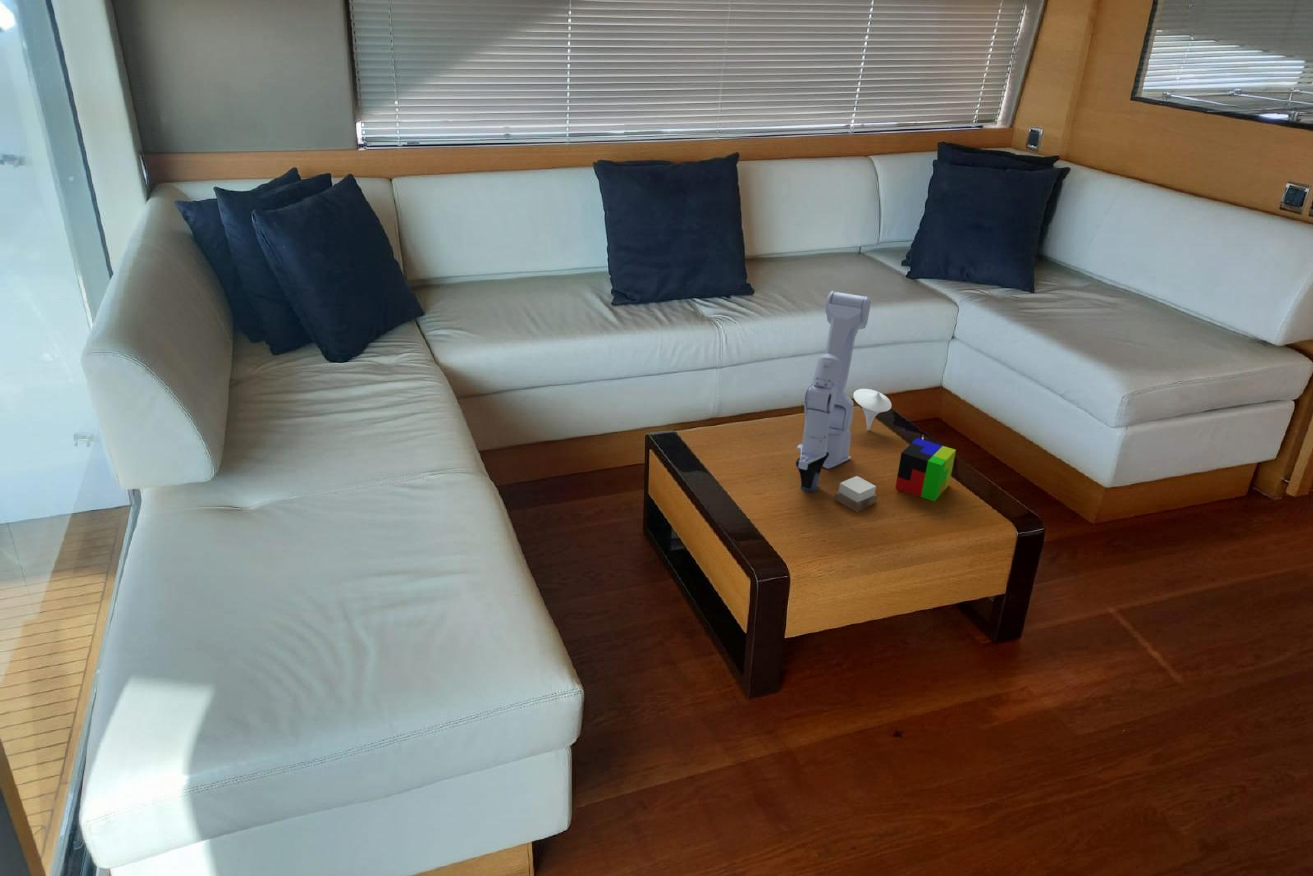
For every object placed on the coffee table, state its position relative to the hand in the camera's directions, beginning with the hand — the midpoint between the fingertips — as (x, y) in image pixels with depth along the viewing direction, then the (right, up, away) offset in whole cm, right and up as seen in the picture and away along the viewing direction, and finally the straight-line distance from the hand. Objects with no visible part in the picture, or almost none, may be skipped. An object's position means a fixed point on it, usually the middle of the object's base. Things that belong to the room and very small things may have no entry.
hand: (809, 483), depth 228 cm
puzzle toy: (+28, -1, +3) cm, 29 cm away
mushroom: (+21, +13, +31) cm, 40 cm away
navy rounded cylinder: (0, -1, +1) cm, 1 cm away
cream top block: (+10, -2, -5) cm, 12 cm away
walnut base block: (+10, -5, -4) cm, 12 cm away
